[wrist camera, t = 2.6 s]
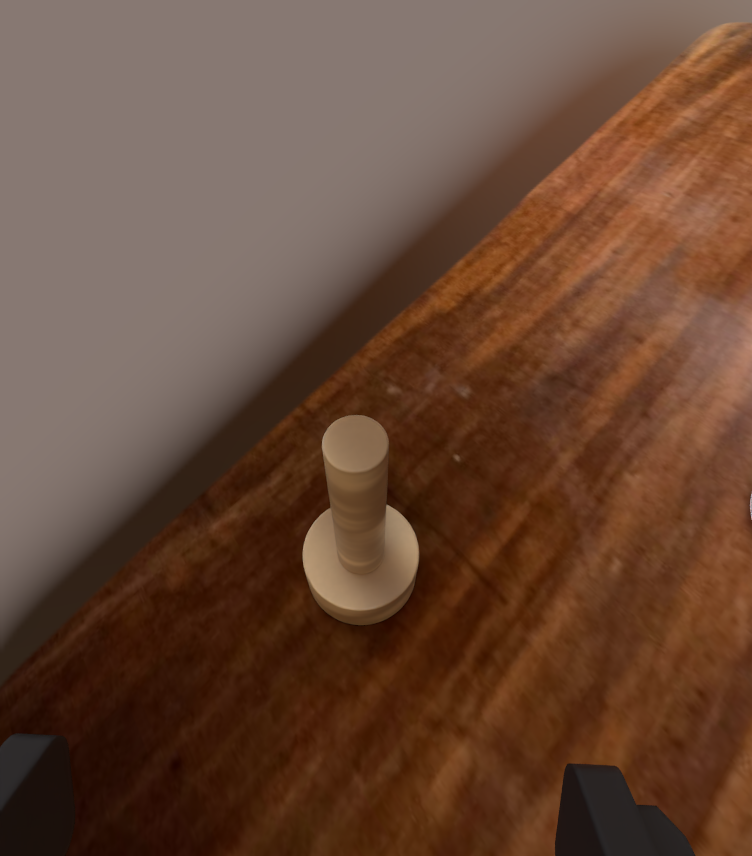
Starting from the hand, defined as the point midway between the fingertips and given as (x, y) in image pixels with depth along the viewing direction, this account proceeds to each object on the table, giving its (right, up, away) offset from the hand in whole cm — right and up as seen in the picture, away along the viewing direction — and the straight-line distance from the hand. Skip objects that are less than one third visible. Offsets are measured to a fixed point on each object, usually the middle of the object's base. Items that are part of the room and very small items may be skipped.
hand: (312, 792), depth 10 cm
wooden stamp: (0, -1, +19) cm, 19 cm away
